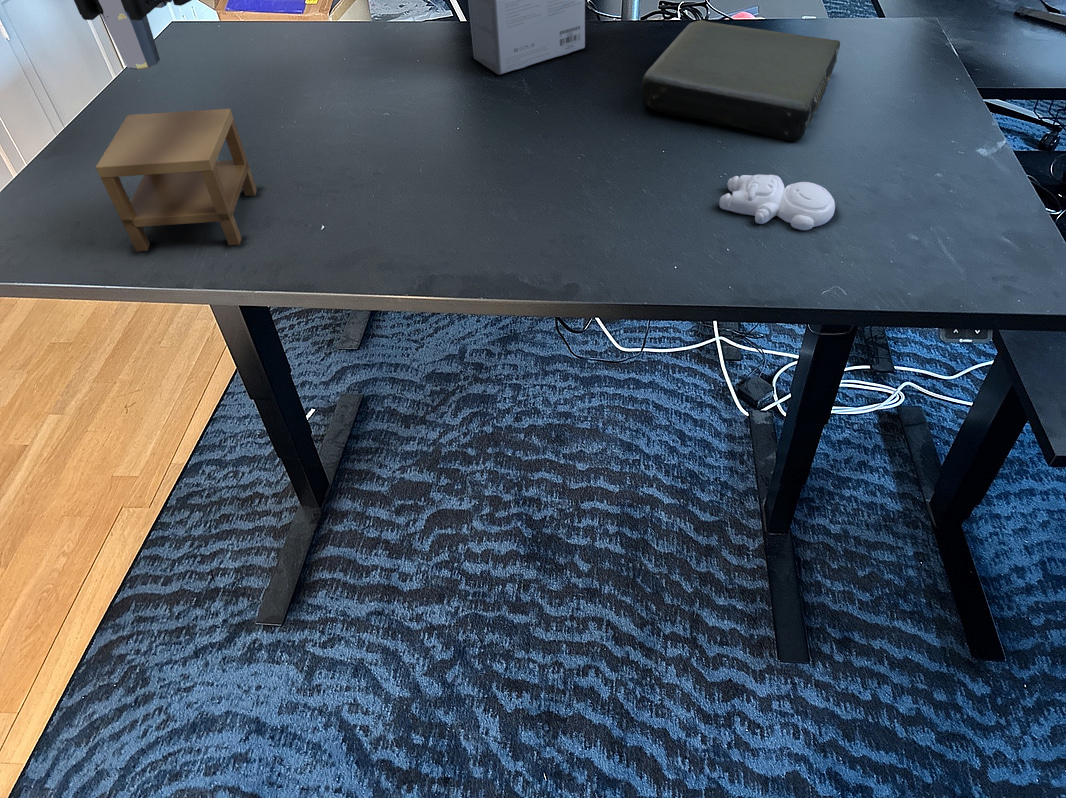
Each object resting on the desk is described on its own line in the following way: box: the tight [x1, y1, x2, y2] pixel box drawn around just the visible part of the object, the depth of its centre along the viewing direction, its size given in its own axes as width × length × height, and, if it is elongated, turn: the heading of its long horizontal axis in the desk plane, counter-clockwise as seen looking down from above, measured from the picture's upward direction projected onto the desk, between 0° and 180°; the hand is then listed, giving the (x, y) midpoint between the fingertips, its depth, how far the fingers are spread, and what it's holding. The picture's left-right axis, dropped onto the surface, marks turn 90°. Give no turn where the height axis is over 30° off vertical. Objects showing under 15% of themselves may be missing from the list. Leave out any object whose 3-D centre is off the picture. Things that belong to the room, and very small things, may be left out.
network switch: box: [640, 19, 841, 142], centre depth 102 cm, size 23×23×5 cm
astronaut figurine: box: [718, 174, 836, 231], centre depth 84 cm, size 9×12×3 cm
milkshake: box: [93, 0, 161, 71], centre depth 74 cm, size 5×5×10 cm
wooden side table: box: [95, 108, 257, 253], centre depth 83 cm, size 11×11×10 cm
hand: (106, 9), depth 72 cm, fingers closed on milkshake, 4 cm apart
